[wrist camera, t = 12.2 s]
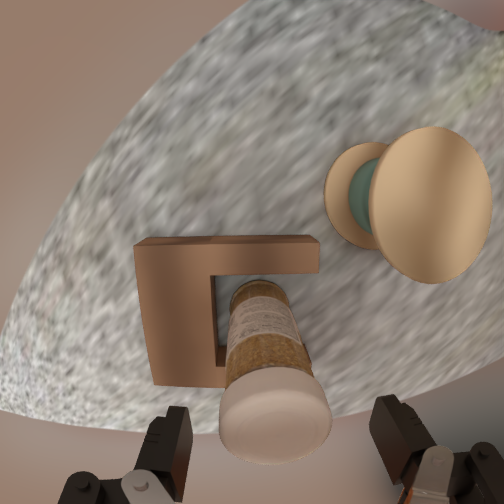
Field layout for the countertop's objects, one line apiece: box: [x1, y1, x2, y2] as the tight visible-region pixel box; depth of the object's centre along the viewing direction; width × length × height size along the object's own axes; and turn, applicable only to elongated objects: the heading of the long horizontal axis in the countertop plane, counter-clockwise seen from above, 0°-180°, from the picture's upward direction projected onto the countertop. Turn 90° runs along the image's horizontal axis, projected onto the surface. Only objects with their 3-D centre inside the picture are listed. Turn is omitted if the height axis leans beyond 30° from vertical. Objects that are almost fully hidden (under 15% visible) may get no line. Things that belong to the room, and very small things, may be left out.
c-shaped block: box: [133, 235, 320, 388], centre depth 22 cm, size 12×11×3 cm
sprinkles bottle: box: [219, 280, 332, 465], centre depth 17 cm, size 5×5×13 cm
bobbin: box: [324, 127, 492, 284], centre depth 17 cm, size 8×8×9 cm
